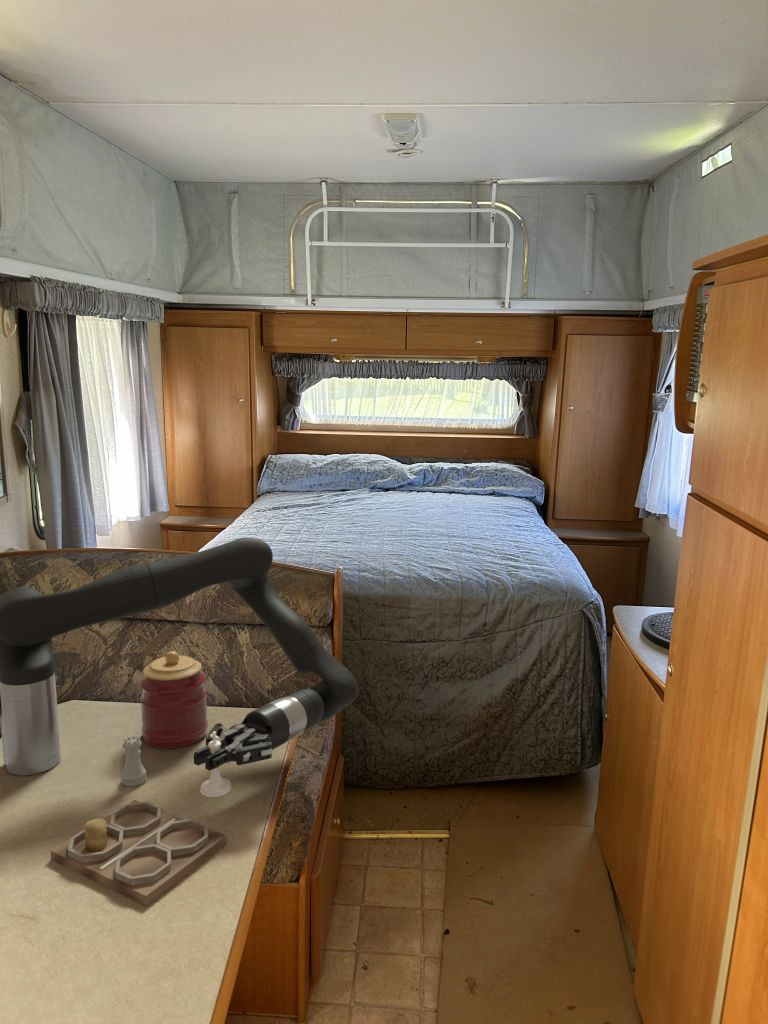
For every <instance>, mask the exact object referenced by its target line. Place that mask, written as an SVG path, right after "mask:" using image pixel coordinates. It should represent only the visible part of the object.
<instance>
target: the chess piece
mask: <svg viewBox="0 0 768 1024" xmlns="http://www.w3.org/2000/svg"><path fill="white" fill-rule="evenodd" d="M212 733H213V734H211V735H210V737H211V738H213V741H211V742H210V743H209V744H208V745H209V748H210V751H211V753H212V754H213V753H215V752H217V751H219V749H220V746H221V742H220V741H217V740H219V737H218V736H216V732H215V731H214V732H212ZM231 789H232V785H231V782H230V781H229V779H227V778H224V777H222V776H221V771H220V766H219V767H217V768H215V769H213V770H211V771H210V777H209V779H207V780H204V781H203V782H202V783H201V785H200V790H199V791H200V794H202V795H203V796H204V797H209V798H216V797H217V798H219V797H222V796H225V795H226V794H229V792H230V791H231Z"/></svg>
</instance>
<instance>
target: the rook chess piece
mask: <svg viewBox="0 0 768 1024" xmlns="http://www.w3.org/2000/svg"><path fill="white" fill-rule="evenodd" d="M123 742H124V743H122V746H121V747H122V748H123V749H124V751H125V752H124V753H123V754H124V756H125V762H124V767H123V770H122V771H121V774H120V778H121V779H120V783H121V784H122V785H123V786H124V787H127V788H129V787H130V788H133V787H134V788H135V787H138V786H141V785H143V784H144V783H145V781H146V780H147V778H148V777H147V771H146V770H147V769H146V768H144V765H143V764H142V761H141V755H140V754H141V753H142V750H141V749H140V747H141V746H142V744H143V743H142V741H141V740H140V737H139V736H135V735H132V738H131V736H128V737H126V738H125V739H124V740H123Z"/></svg>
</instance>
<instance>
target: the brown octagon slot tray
mask: <svg viewBox="0 0 768 1024" xmlns="http://www.w3.org/2000/svg"><path fill="white" fill-rule="evenodd" d="M227 837H228V835H227V834H224V833H221V832H218V831H216V830H213V829H212V828H211V829H210V828H208V824H207V823H204V822H202V821H200V820H197V819H194V818H190V819H185V818H183V817H180V816H178V815H175V814H173V813H170V812H167V811H164V810H162V807H161V805H158V804H155V803H152V802H150V801H139V800H135V799H134V800H132V801H131V802H128V803H127V804H124V805H123V806H122V807H120V808H118V809H116V810H115V811H113V812H112V813H110V814H108V815H107V816H105V817H104V818H94V819H91V820H88V821H87V822H86V823H85V824H84V829H83V830H81V831H80V832H78V833H76V834H74V835H73V836H71V837H70V838H69V839H68V840H65V841H63V842H62V843H60V844H59V845H57V846H55V847H54V848H52V849H50V850H49V851H50V861H53V862H55V863H57V864H59V865H61V866H63V867H65V868H67V869H69V870H71V871H73V872H76V873H78V874H80V875H82V876H84V877H86V878H88V879H90V880H92V881H94V882H96V883H99V884H100V885H103V886H105V887H106V888H109V889H110V890H113V891H114V892H118V893H119V894H120V895H123V896H125V897H127V898H129V899H131V900H133V901H135V902H137V903H140V904H142V905H144V906H146V907H147V906H149V905H150V904H151V903H153V902H154V901H156V899H158V898H160V897H161V896H162V895H163V894H165V893H166V892H167V891H168V890H170V889H172V887H173V886H175V885H176V884H177V883H179V882H180V881H181V880H182V879H184V878H185V877H186V876H187V875H189V874H190V873H192V872H193V871H194V870H195V869H197V868H198V867H199V866H200V865H202V864H204V863H205V862H206V861H208V859H210V858H211V857H212V856H214V855H215V854H216V853H218V852H219V851H220V850H222V849H223V848H225V846H226V845H227V844H228V843H227V842H228V841H227Z"/></svg>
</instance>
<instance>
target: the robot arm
mask: <svg viewBox="0 0 768 1024" xmlns="http://www.w3.org/2000/svg"><path fill="white" fill-rule="evenodd" d="M273 555H274V554H273V550H272V548H271V547H270V546H269V544H268V543H267V542H265V541H264V540H262V539H260V538H257V537H252V536H251V537H247V536H246V537H241V538H237V539H235V540H231V541H229V542H225V543H223V544H220V545H219V544H218V545H217V546H214V547H211V548H207V549H204V550H201V551H197V552H194V553H188V554H183V555H178V556H173V557H168V558H165V559H161V560H160V559H159V560H156V561H150V562H145V563H139V564H137V565H132V566H128V567H124V568H120V569H117V570H115V571H112V572H110V573H108V574H105V575H103V576H101V577H99V578H97V579H95V580H92V581H91V582H88V583H86V584H85V585H82V586H79V587H76V588H73V589H68V590H65V591H64V590H63V591H59V592H58V591H57V592H54V593H53V592H52V593H47V594H43V593H42V592H40V591H39V590H37V589H35V588H32V587H30V586H29V587H28V586H18V587H15V588H11V589H9V590H7V591H6V592H4V593H3V594H2V595H1V596H0V704H1V705H0V706H1V715H0V732H1V744H2V745H1V746H2V756H3V757H2V758H3V764H4V765H5V767H6V771H7V772H8V773H9V774H11V775H14V776H30V775H36V774H41V773H43V772H46V771H49V770H51V769H53V768H54V767H56V766H57V765H58V764H59V763H60V761H61V759H62V757H61V743H60V729H59V715H58V714H59V712H58V710H59V709H58V701H57V700H58V698H57V686H56V671H55V657H54V650H53V649H54V648H53V640H52V639H53V638H55V637H57V636H60V635H62V634H65V633H69V632H71V631H75V630H77V629H81V628H83V627H88V626H92V625H96V624H102V623H106V622H111V621H115V620H119V619H123V618H126V617H132V616H138V615H141V614H146V613H149V612H153V611H156V610H160V609H163V608H166V607H169V606H171V605H173V604H175V603H178V602H180V601H182V600H183V599H185V598H187V597H189V596H191V595H193V594H194V593H197V592H198V591H201V590H203V589H205V588H207V587H211V586H214V585H219V584H223V583H227V584H229V586H230V587H231V589H233V590H234V591H235V592H236V594H238V595H239V596H240V598H241V599H242V600H243V601H244V602H245V603H246V604H247V605H248V606H249V607H250V609H252V611H253V612H254V613H255V614H256V615H257V617H258V618H259V619H260V621H261V622H262V623H263V624H264V626H265V627H266V628H267V630H268V631H269V632H270V634H271V635H272V637H273V638H274V639H275V641H276V642H277V644H278V645H279V647H280V649H281V650H282V651H283V654H285V655H284V656H286V658H287V659H288V661H289V663H290V664H291V666H292V667H293V668H294V669H295V671H296V672H297V673H298V674H299V675H301V676H307V675H310V674H312V673H314V674H315V675H316V676H318V677H319V678H320V679H321V680H320V681H319V682H317V683H316V684H315V685H314V686H312V687H311V688H303V689H300V690H297V691H295V692H293V693H290V694H289V695H286V696H284V697H282V698H278V699H275V700H273V701H271V702H269V703H267V704H264V705H262V706H260V707H259V708H257V709H255V710H254V709H253V710H252V711H250V712H248V713H247V714H246V716H245V717H244V719H243V720H242V721H241V722H240V723H238V724H234V725H231V726H230V727H223V723H221V722H220V723H216V724H214V726H213V727H212V728H211V729H210V731H209V732H208V733H207V734H206V735H205V736H206V737H205V746H203V747H201V748H199V749H197V750H196V751H194V753H193V765H196V766H200V765H203V764H204V768H205V770H206V771H210V772H211V770H213V769H215V768H217V767H219V768H220V767H221V766H222V765H223V766H224V764H232V763H233V762H235V764H236V765H237V766H243V765H247V764H251V763H256V762H261V761H264V760H265V761H266V760H270V759H272V758H273V757H272V756H273V750H275V749H277V748H278V747H280V746H282V745H284V744H286V743H287V742H289V741H291V740H293V739H295V738H297V736H298V735H300V734H301V733H302V732H304V731H307V730H308V729H309V728H312V727H313V726H315V725H316V724H320V723H323V722H325V721H327V720H330V719H331V718H333V717H334V716H336V715H338V714H339V713H340V712H341V711H343V710H344V709H345V708H347V707H348V706H349V705H350V704H351V703H353V702H355V700H356V699H357V697H358V695H359V686H358V682H357V679H356V678H355V676H354V675H353V673H352V672H351V671H350V670H349V669H348V668H347V667H346V666H344V664H342V663H341V662H340V661H339V660H338V659H337V658H335V656H333V655H332V654H331V653H330V652H328V651H327V650H326V649H325V648H324V646H323V644H322V643H321V641H320V640H319V638H318V637H317V636H316V634H315V633H314V630H313V629H312V628H311V626H310V625H309V624H308V623H307V622H306V621H305V620H304V619H303V617H301V615H299V614H298V613H297V612H295V610H293V609H292V608H291V607H290V606H289V605H288V604H287V603H286V602H285V601H284V600H283V599H282V598H281V596H280V595H279V594H278V592H277V591H276V589H275V587H274V586H273V583H272V582H271V579H270V577H269V575H268V574H269V572H270V570H271V567H272V564H273V561H274V559H273V558H274V556H273ZM214 731H215V732H216V736H218V737H219V740H217V741H220V742H221V746H220V749H219V751H217V752H215V753H213V754H212V753H211V751H210V748H209V745H208V744H209V743H210V742H211V741H213V738H211V737H210V735H211V734H213V733H212V732H214Z"/></svg>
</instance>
